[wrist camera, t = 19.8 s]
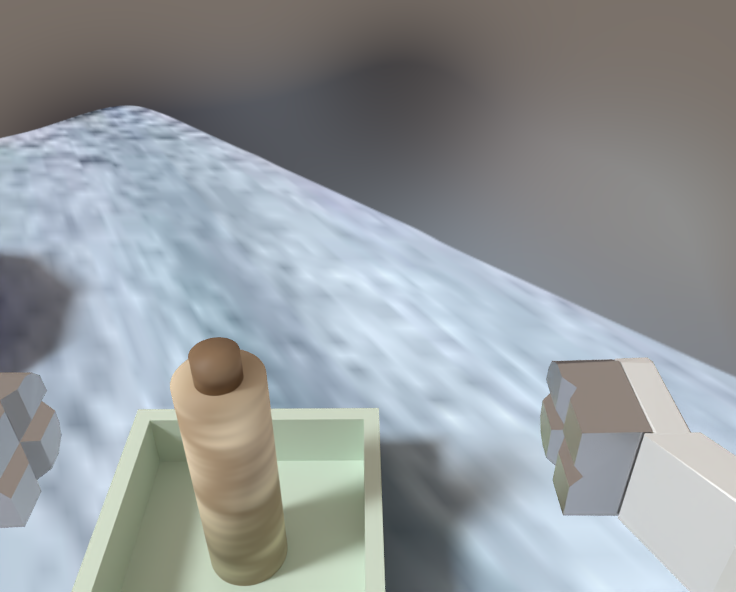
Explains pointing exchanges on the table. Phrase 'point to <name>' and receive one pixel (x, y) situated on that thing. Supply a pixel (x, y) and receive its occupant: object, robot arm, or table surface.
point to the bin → (299, 499)
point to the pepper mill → (232, 459)
